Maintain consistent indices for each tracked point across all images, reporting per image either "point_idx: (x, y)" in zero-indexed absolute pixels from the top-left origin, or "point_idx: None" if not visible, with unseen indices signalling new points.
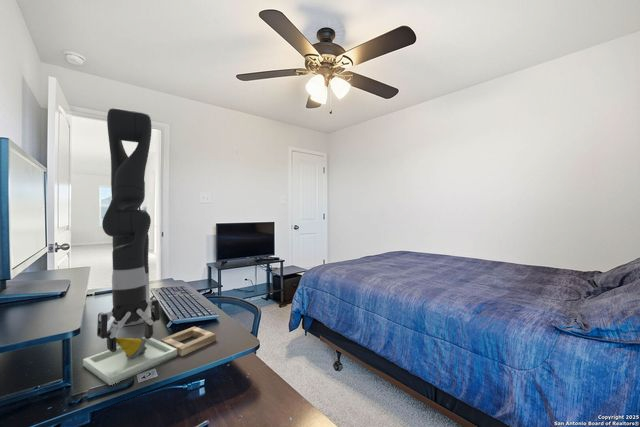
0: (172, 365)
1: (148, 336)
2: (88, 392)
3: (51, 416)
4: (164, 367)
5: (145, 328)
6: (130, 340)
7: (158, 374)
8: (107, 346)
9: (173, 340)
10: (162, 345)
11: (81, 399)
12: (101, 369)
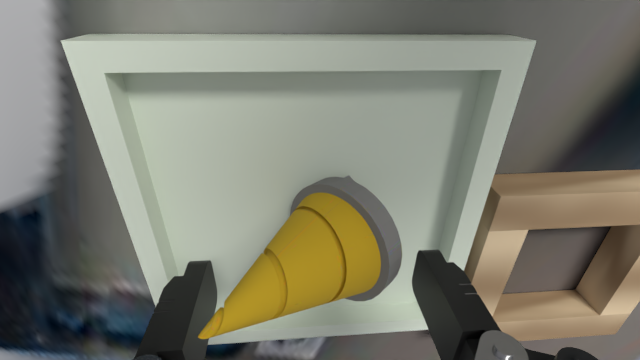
0: (375, 342)
1: (417, 301)
2: (108, 304)
3: (3, 342)
4: (353, 336)
5: (444, 317)
6: (308, 308)
7: (316, 355)
8: (161, 304)
9: (510, 259)
10: (449, 258)
11: (86, 324)
12: (152, 266)
